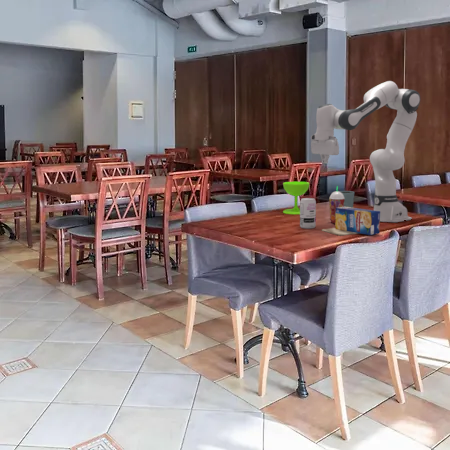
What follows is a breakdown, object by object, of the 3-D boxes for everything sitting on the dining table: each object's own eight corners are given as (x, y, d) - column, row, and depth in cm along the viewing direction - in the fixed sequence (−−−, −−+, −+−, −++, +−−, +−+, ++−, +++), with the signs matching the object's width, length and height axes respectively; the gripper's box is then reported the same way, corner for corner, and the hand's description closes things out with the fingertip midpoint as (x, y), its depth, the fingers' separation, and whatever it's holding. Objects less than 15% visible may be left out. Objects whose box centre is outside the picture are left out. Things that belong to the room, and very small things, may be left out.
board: (347, 227, 294) (347, 226, 294) (366, 232, 280) (366, 231, 280) (321, 230, 287) (321, 229, 287) (339, 235, 274) (339, 234, 274)
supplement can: (305, 225, 303) (305, 197, 300) (318, 226, 298) (318, 198, 295) (296, 227, 297) (297, 199, 294) (310, 229, 291) (310, 200, 289)
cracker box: (335, 229, 288) (370, 235, 271) (335, 207, 286) (371, 212, 269) (344, 227, 292) (379, 233, 275) (344, 206, 290) (380, 211, 273)
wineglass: (278, 211, 352) (278, 182, 349) (302, 209, 357) (302, 181, 353) (289, 215, 337) (289, 184, 334) (313, 213, 342) (314, 183, 338)
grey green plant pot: (356, 210, 349) (356, 191, 347) (350, 213, 341) (350, 193, 338) (340, 209, 354) (340, 190, 352) (334, 211, 346) (334, 192, 344)
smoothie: (342, 221, 313) (342, 185, 310) (345, 223, 305) (346, 186, 302) (327, 221, 313) (327, 185, 310) (330, 224, 305) (331, 187, 301)
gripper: (342, 136, 283) (341, 164, 285) (319, 135, 301) (319, 161, 304) (331, 136, 280) (331, 164, 283) (309, 136, 298) (309, 162, 301)
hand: (324, 163), depth 293 cm, fingers closed
